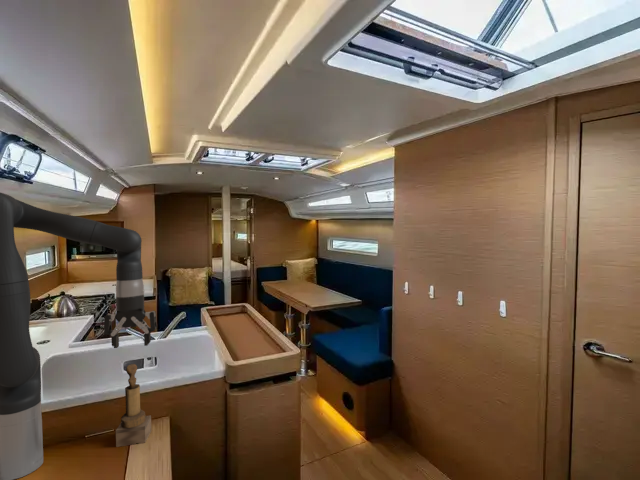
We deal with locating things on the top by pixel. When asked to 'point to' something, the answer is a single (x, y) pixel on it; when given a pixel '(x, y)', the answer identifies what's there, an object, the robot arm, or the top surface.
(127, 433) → the walnut stand
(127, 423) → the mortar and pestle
